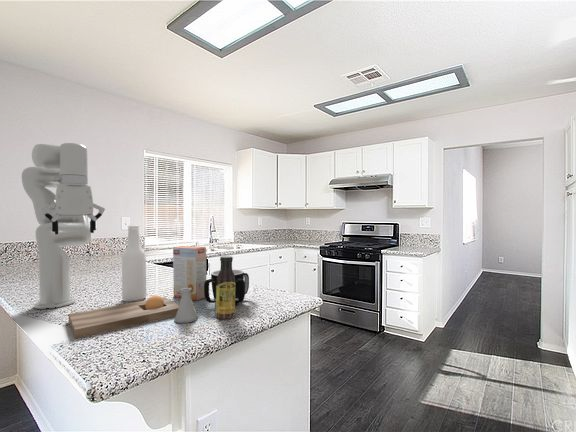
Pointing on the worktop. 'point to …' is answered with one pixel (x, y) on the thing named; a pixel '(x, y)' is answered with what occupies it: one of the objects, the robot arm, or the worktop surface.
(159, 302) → the orange ball
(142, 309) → the board
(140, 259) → the alcohol
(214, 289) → the mug
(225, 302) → the sauce bottle
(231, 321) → the worktop surface
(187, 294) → the flask
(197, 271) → the cracker box
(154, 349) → the worktop surface
